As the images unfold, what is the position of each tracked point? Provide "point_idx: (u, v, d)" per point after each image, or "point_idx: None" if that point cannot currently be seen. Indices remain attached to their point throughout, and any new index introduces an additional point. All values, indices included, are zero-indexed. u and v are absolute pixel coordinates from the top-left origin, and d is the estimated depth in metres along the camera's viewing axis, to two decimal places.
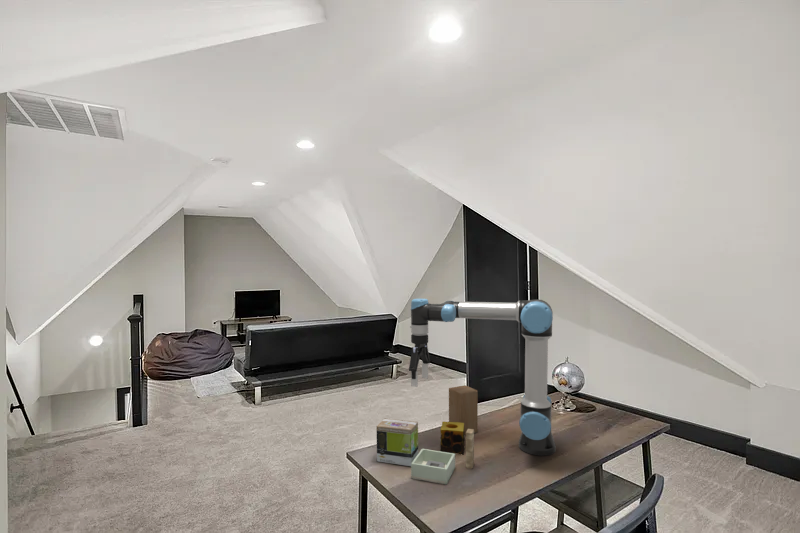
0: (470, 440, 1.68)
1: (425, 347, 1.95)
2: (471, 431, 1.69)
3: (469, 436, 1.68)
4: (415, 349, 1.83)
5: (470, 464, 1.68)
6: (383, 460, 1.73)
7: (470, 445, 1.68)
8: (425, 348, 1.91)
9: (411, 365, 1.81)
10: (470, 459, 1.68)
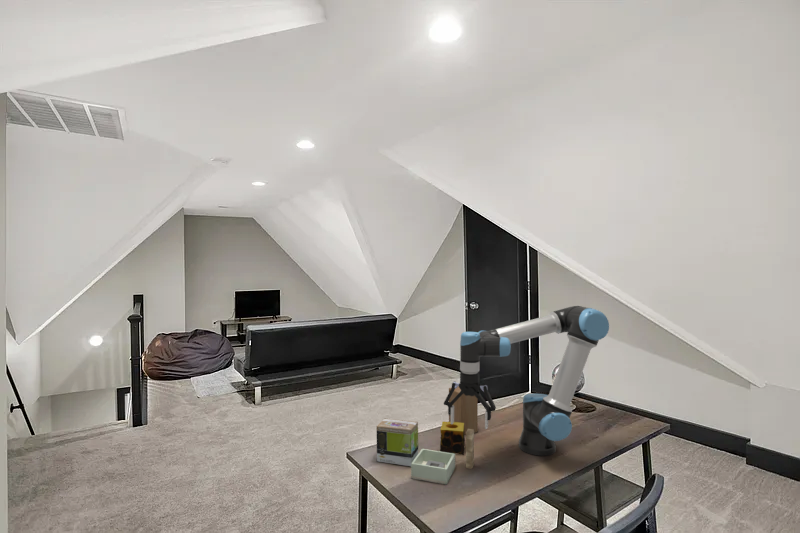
0: (470, 440, 1.68)
1: (484, 391, 1.67)
2: (471, 431, 1.69)
3: (469, 436, 1.68)
4: (452, 384, 1.71)
5: (470, 464, 1.68)
6: (383, 460, 1.73)
7: (470, 445, 1.68)
8: (473, 390, 1.67)
9: None
10: (470, 459, 1.68)
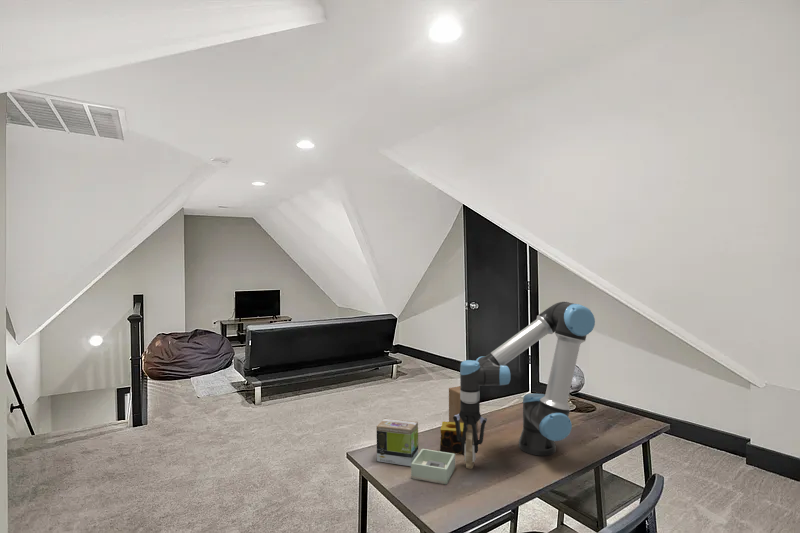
0: (470, 440, 1.68)
1: (481, 423, 1.68)
2: (471, 431, 1.69)
3: (469, 436, 1.68)
4: None
5: (470, 464, 1.68)
6: (383, 460, 1.73)
7: (470, 445, 1.68)
8: (473, 420, 1.67)
9: None
10: (470, 459, 1.68)
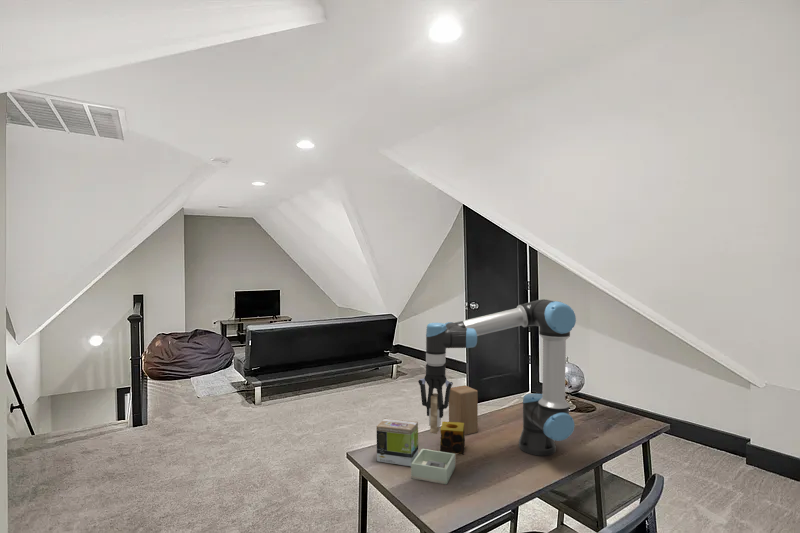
0: (435, 404, 1.63)
1: None
2: (436, 395, 1.64)
3: (434, 400, 1.63)
4: None
5: (434, 429, 1.63)
6: (383, 460, 1.73)
7: (435, 409, 1.63)
8: (438, 384, 1.62)
9: None
10: (435, 424, 1.63)
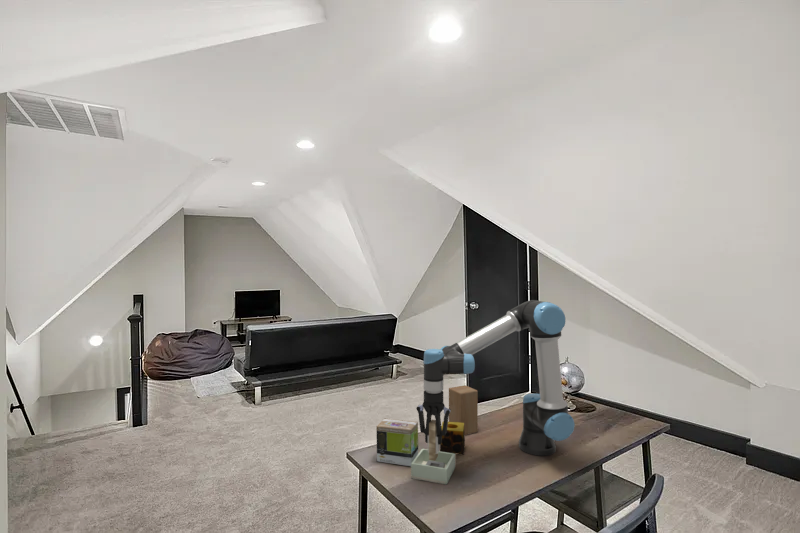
0: (433, 431, 1.63)
1: (445, 414, 1.62)
2: (434, 422, 1.64)
3: (432, 427, 1.63)
4: None
5: (433, 456, 1.63)
6: (383, 460, 1.73)
7: (433, 436, 1.63)
8: (436, 411, 1.62)
9: None
10: (433, 451, 1.63)
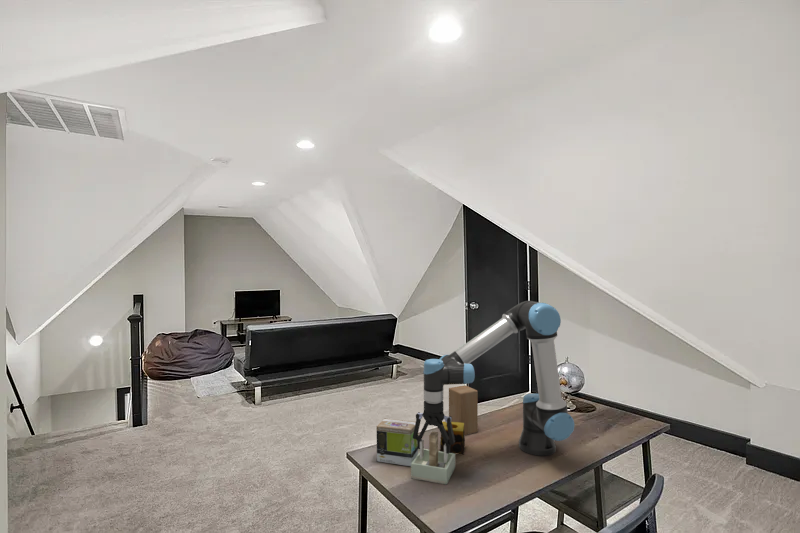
0: (433, 443, 1.63)
1: (447, 422, 1.62)
2: (435, 434, 1.64)
3: (433, 439, 1.63)
4: None
5: None
6: (383, 460, 1.73)
7: (433, 448, 1.63)
8: (437, 420, 1.62)
9: None
10: (433, 463, 1.63)
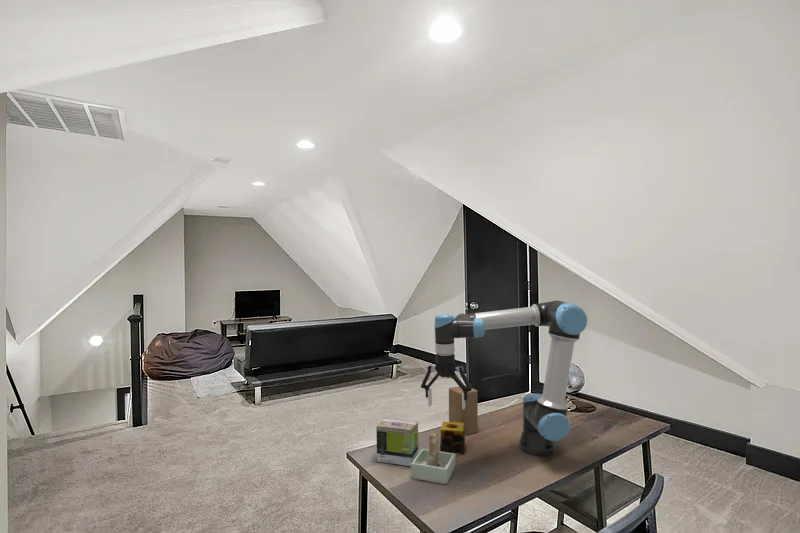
0: (433, 443, 1.63)
1: None
2: (435, 434, 1.64)
3: (433, 439, 1.63)
4: None
5: None
6: (383, 460, 1.73)
7: (433, 448, 1.63)
8: (449, 371, 1.68)
9: None
10: (433, 463, 1.63)
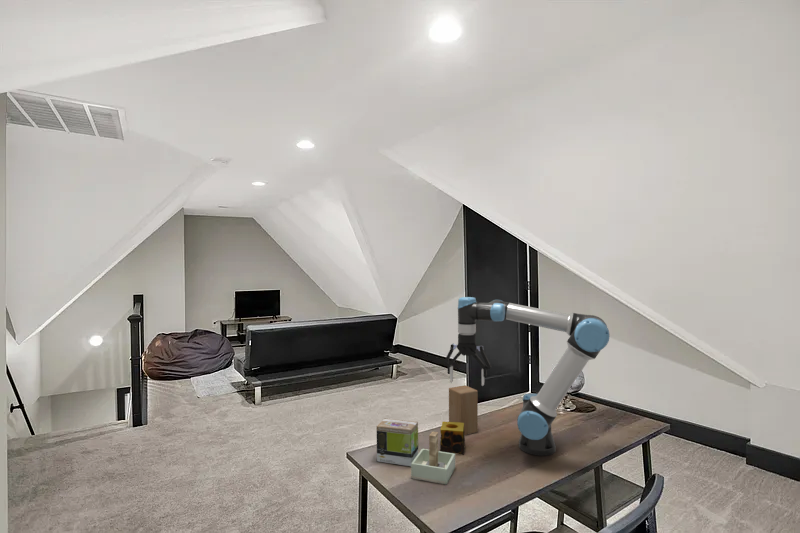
0: (433, 443, 1.63)
1: (480, 351, 1.81)
2: (435, 434, 1.64)
3: (433, 439, 1.63)
4: None
5: None
6: (383, 460, 1.73)
7: (433, 448, 1.63)
8: (470, 350, 1.81)
9: (445, 359, 1.88)
10: (433, 463, 1.63)
